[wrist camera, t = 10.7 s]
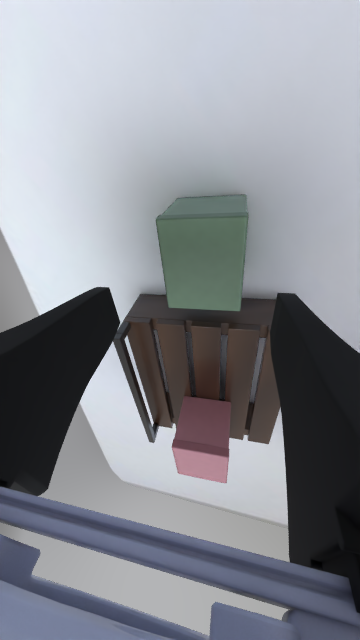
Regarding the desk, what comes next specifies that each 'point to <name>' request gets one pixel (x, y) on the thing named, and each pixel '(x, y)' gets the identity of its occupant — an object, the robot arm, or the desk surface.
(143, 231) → the desk surface
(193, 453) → the rose box
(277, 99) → the desk surface
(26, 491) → the robot arm
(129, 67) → the desk surface
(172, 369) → the rack
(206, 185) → the desk surface
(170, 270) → the sage box
